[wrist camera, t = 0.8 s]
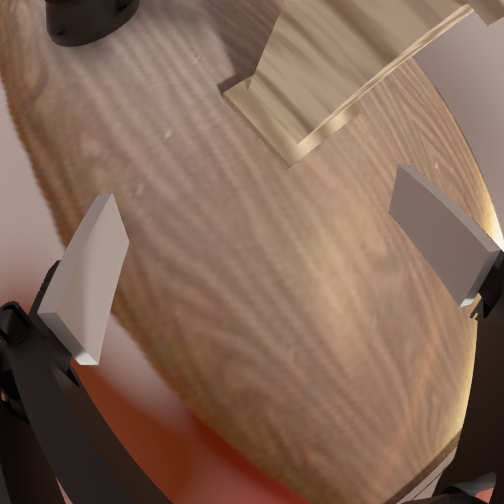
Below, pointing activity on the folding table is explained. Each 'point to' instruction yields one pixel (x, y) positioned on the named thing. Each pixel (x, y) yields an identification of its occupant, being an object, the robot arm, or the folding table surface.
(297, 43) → the pedestal
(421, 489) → the laminator
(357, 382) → the folding table surface
